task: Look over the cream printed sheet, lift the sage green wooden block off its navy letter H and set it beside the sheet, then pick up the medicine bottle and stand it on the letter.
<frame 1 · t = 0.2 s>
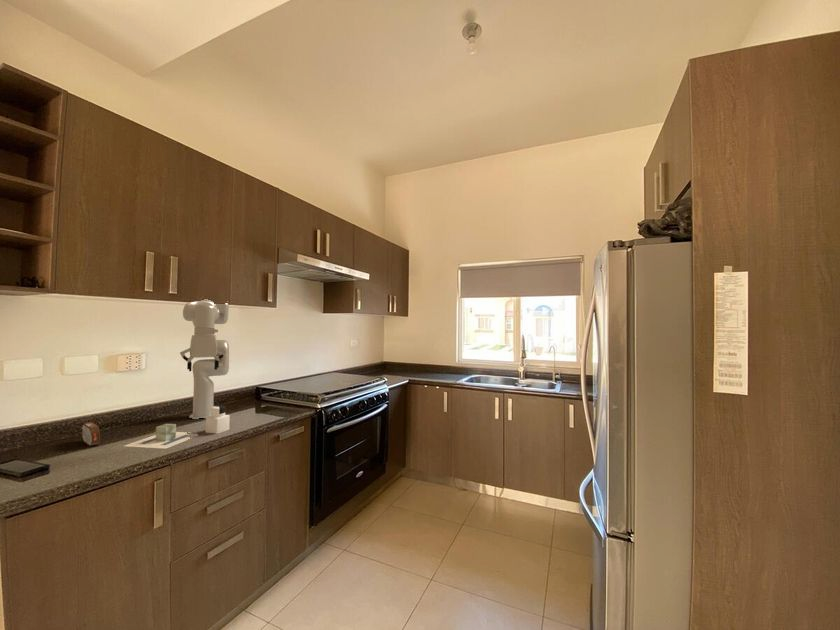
hand: (203, 370, 149), 31 cm above the table, tool pointing down, fingers open, 9 cm apart
cover block: (165, 439, 148), resting on letter sheet
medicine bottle: (217, 431, 160), on the table
tin: (90, 444, 142), on the table
letter sheet: (165, 439, 148), on the table
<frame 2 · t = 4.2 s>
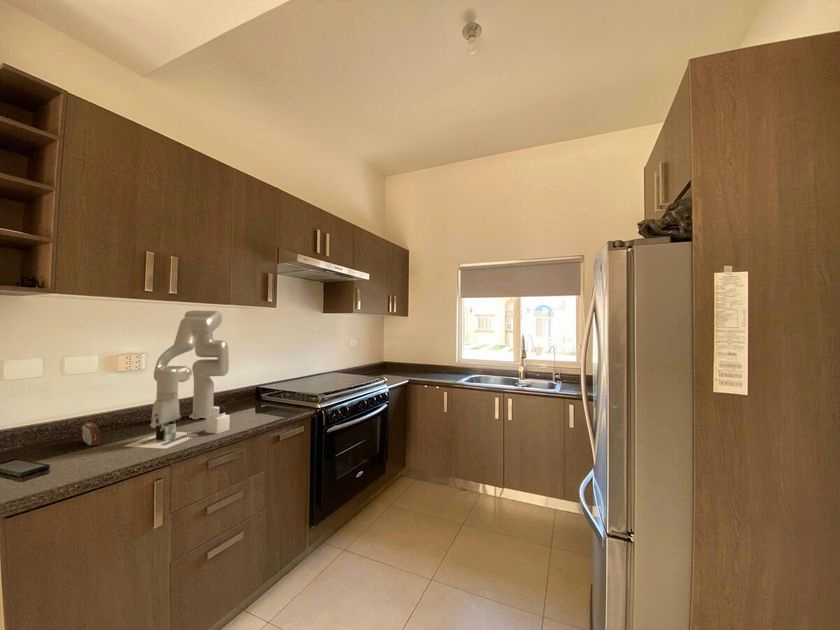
hand: (165, 437, 148), 1 cm above the table, tool pointing down, fingers closed on cover block, 5 cm apart
cover block: (165, 439, 148), resting on letter sheet, touching gripper
everything else where it was.
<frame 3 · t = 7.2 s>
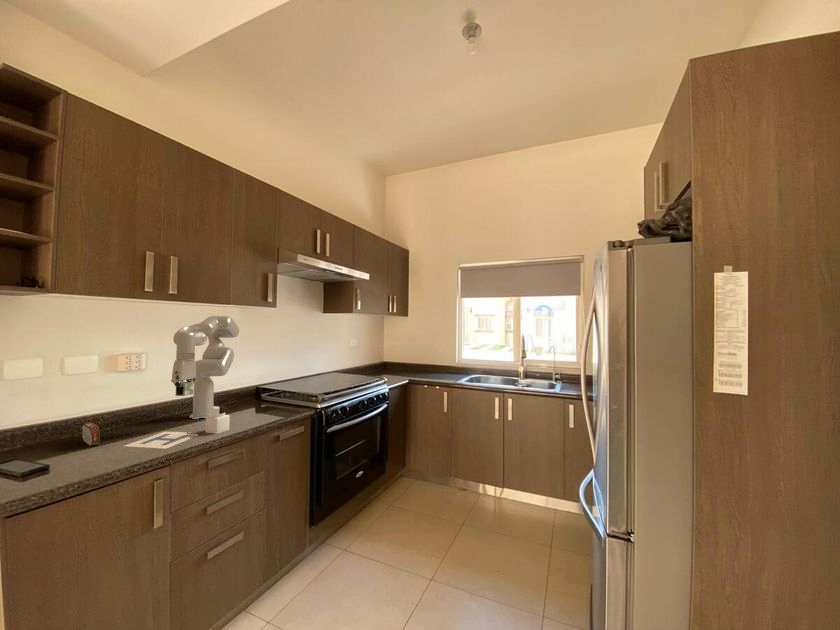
hand: (184, 393, 165), 17 cm above the table, tool pointing down, fingers closed on cover block, 5 cm apart
cover block: (184, 394, 165), point 16 cm above the table, touching gripper
everything else where it was.
when the fingers open (2 cm above the table, at t = 10.3 s): cover block drops 2 cm, on the table.
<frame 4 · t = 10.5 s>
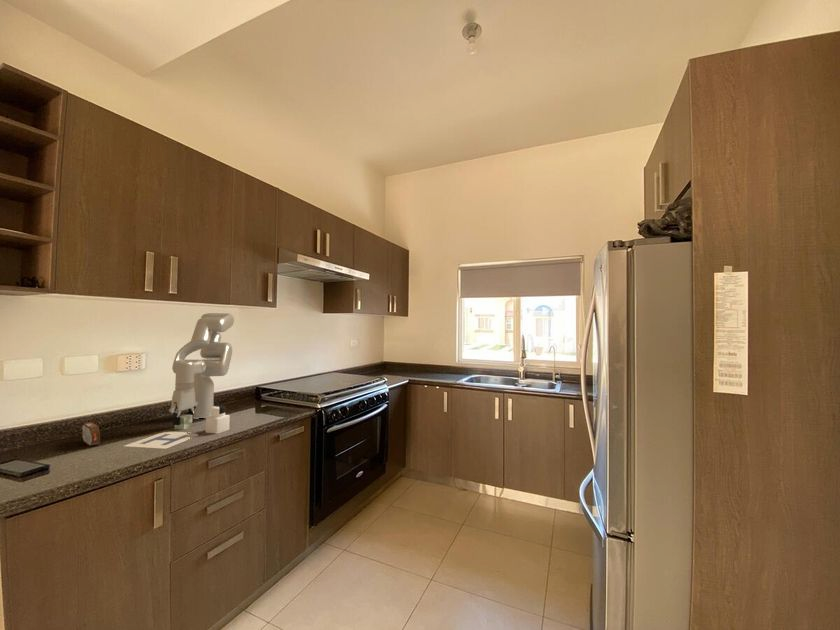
hand: (183, 422, 164), 3 cm above the table, tool pointing down, fingers open, 7 cm apart
cover block: (183, 428, 164), on the table
everything else where it was.
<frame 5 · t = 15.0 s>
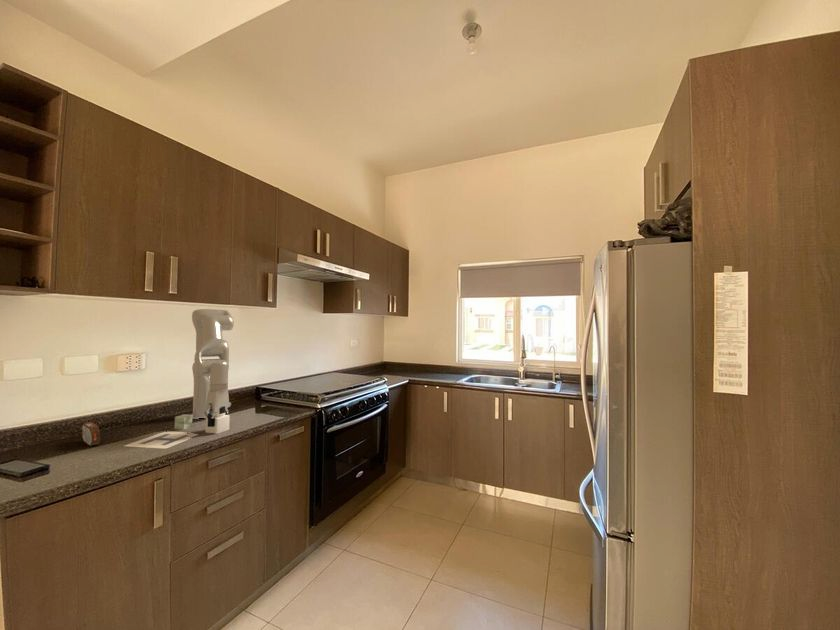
hand: (217, 423, 160), 4 cm above the table, tool pointing down, fingers closed on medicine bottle, 7 cm apart
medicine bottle: (217, 431, 160), on the table, touching gripper
everything else where it was.
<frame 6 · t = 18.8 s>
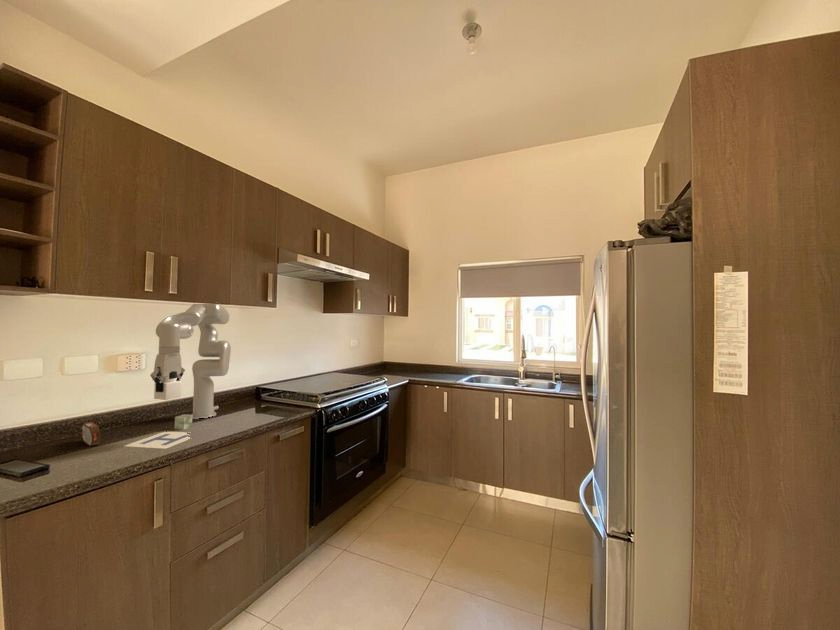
hand: (168, 389, 149), 22 cm above the table, tool pointing down, fingers closed on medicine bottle, 7 cm apart
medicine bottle: (167, 398, 149), point 18 cm above the table, touching gripper
everything else where it was.
when the fingers open (5 cm above the table, at t = 22.7 s): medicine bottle drops 1 cm, resting on letter sheet.
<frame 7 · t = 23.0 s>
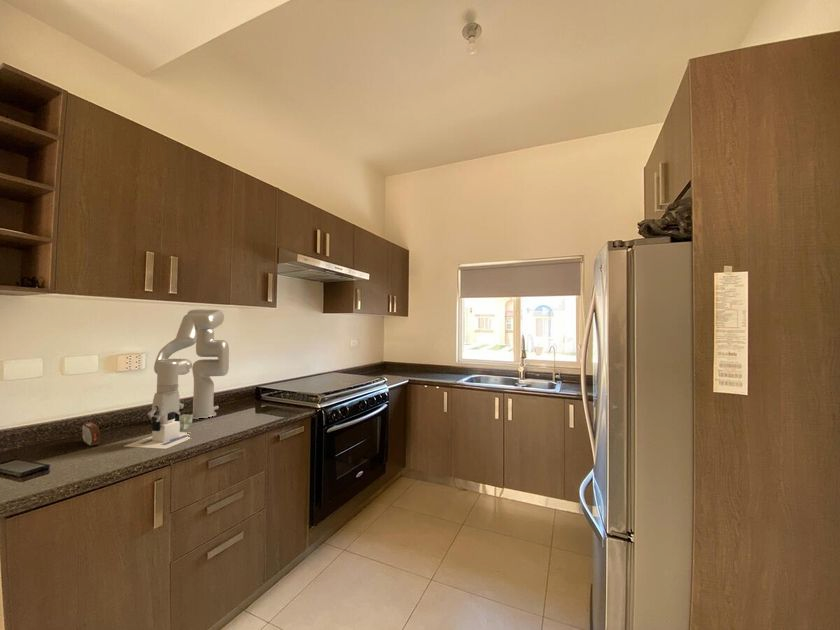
hand: (166, 427, 148), 5 cm above the table, tool pointing down, fingers open, 9 cm apart
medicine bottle: (165, 439, 148), resting on letter sheet
everything else where it was.
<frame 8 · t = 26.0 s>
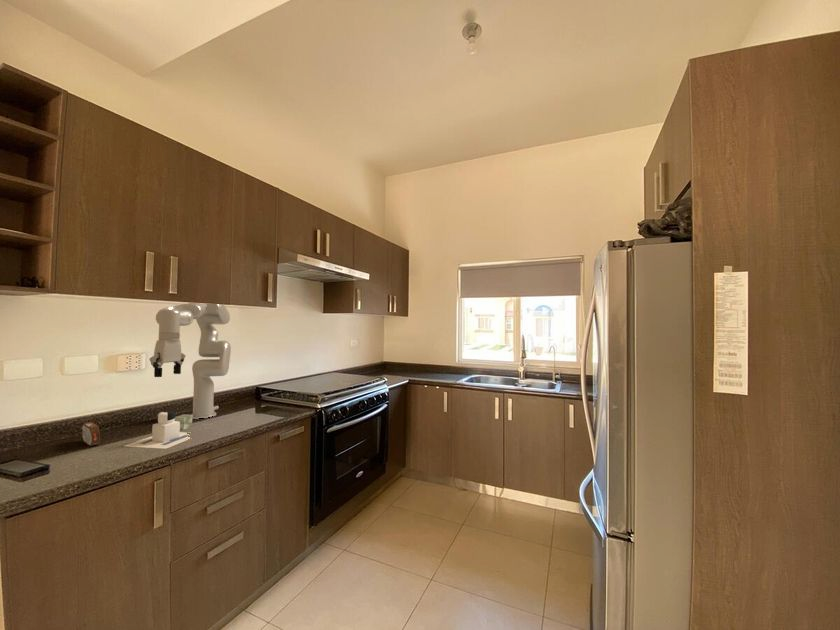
hand: (167, 375, 149), 28 cm above the table, tool pointing down, fingers open, 9 cm apart
nothing on the table moved.
at the end: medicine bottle inside the target area on the letter sheet (0.2 cm from its centre), point 0.0 cm above the letter sheet's base; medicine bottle tilted 0°; cover block touching table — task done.
